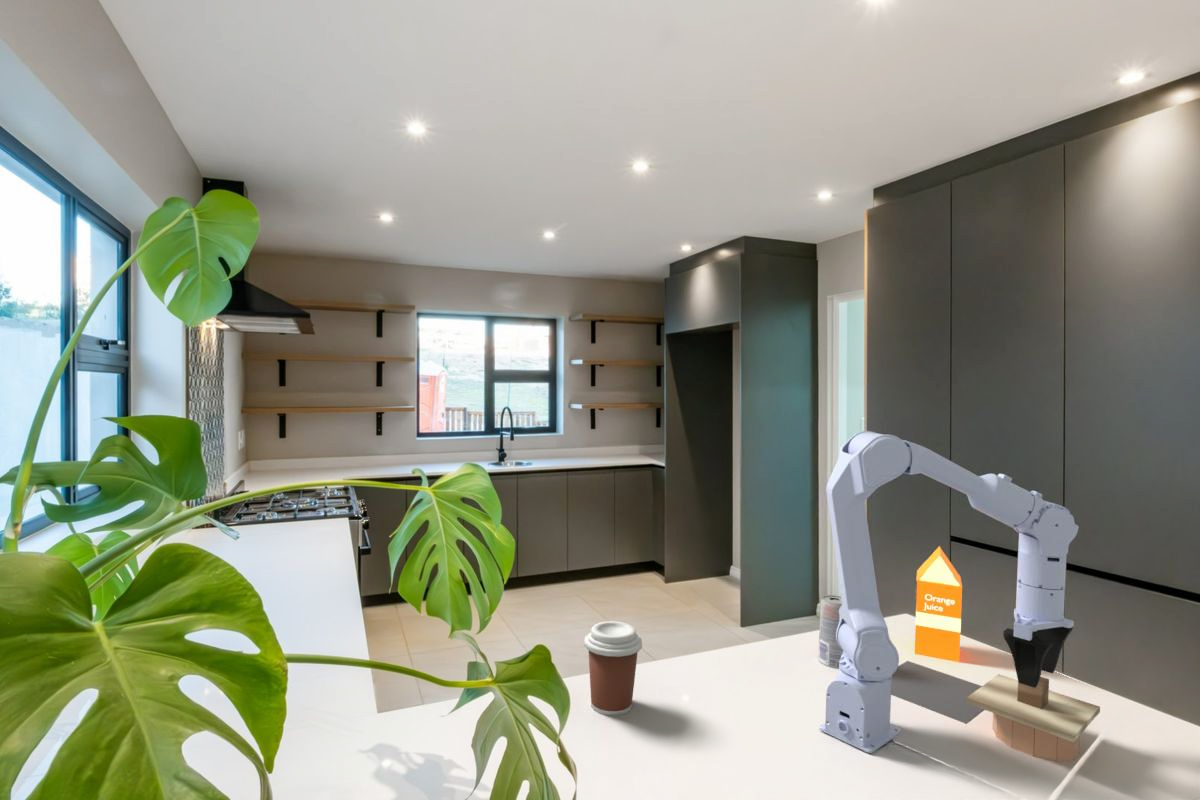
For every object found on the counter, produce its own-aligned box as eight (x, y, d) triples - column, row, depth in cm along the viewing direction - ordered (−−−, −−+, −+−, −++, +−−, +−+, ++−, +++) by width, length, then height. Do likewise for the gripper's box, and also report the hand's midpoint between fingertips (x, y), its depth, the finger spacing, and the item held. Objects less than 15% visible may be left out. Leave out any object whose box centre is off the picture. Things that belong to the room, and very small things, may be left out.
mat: (966, 726, 97) (966, 723, 97) (864, 686, 109) (864, 684, 109) (1004, 696, 107) (1004, 693, 107) (907, 662, 119) (907, 660, 119)
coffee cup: (587, 722, 95) (590, 641, 94) (577, 693, 104) (580, 619, 103) (647, 717, 96) (649, 638, 96) (632, 689, 105) (634, 617, 105)
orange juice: (958, 648, 127) (961, 548, 127) (960, 664, 119) (964, 558, 119) (914, 640, 131) (917, 542, 130) (913, 655, 123) (917, 552, 122)
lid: (1073, 742, 84) (1075, 709, 83) (966, 702, 93) (967, 673, 93) (1099, 712, 92) (1101, 682, 92) (998, 679, 102) (999, 652, 102)
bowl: (1065, 771, 85) (1066, 734, 85) (982, 739, 93) (984, 705, 93) (1086, 746, 92) (1087, 712, 92) (1007, 718, 100) (1008, 686, 99)
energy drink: (844, 659, 120) (847, 595, 120) (853, 671, 115) (855, 605, 114) (815, 657, 121) (817, 594, 120) (822, 669, 115) (824, 603, 115)
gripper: (1058, 600, 84) (1053, 702, 85) (1088, 582, 94) (1084, 674, 94) (998, 587, 90) (994, 683, 90) (1032, 570, 99) (1028, 657, 99)
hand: (1036, 677), depth 92 cm, fingers open, 7 cm apart
